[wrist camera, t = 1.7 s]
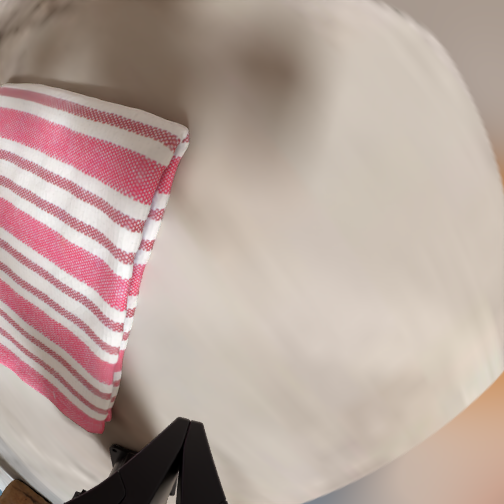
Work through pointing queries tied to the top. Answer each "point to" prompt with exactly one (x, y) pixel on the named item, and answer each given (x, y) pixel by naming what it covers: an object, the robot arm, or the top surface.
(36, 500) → the block
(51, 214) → the dish towel
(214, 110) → the top surface
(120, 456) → the robot arm
